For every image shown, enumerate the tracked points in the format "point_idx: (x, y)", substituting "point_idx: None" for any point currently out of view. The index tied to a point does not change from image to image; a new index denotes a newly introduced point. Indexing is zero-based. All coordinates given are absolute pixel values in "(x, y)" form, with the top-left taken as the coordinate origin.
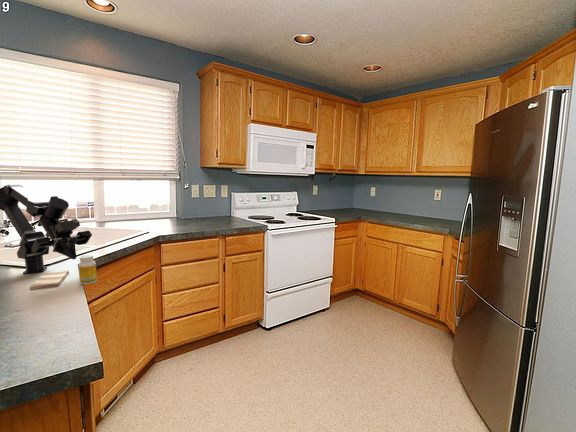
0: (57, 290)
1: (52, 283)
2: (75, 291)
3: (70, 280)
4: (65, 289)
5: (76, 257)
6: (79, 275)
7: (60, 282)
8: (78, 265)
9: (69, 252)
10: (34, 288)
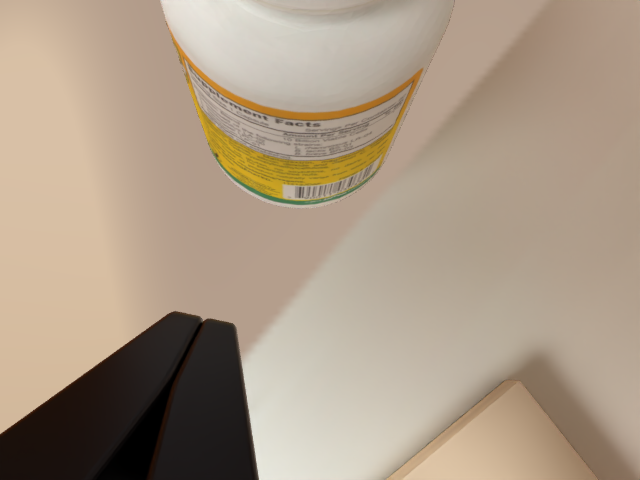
0: (622, 246)
1: (553, 451)
2: (583, 24)
3: (292, 423)
4: (570, 182)
5: (172, 317)
6: (405, 116)
7: (428, 448)
8: (441, 34)
9: (256, 475)
10: None
